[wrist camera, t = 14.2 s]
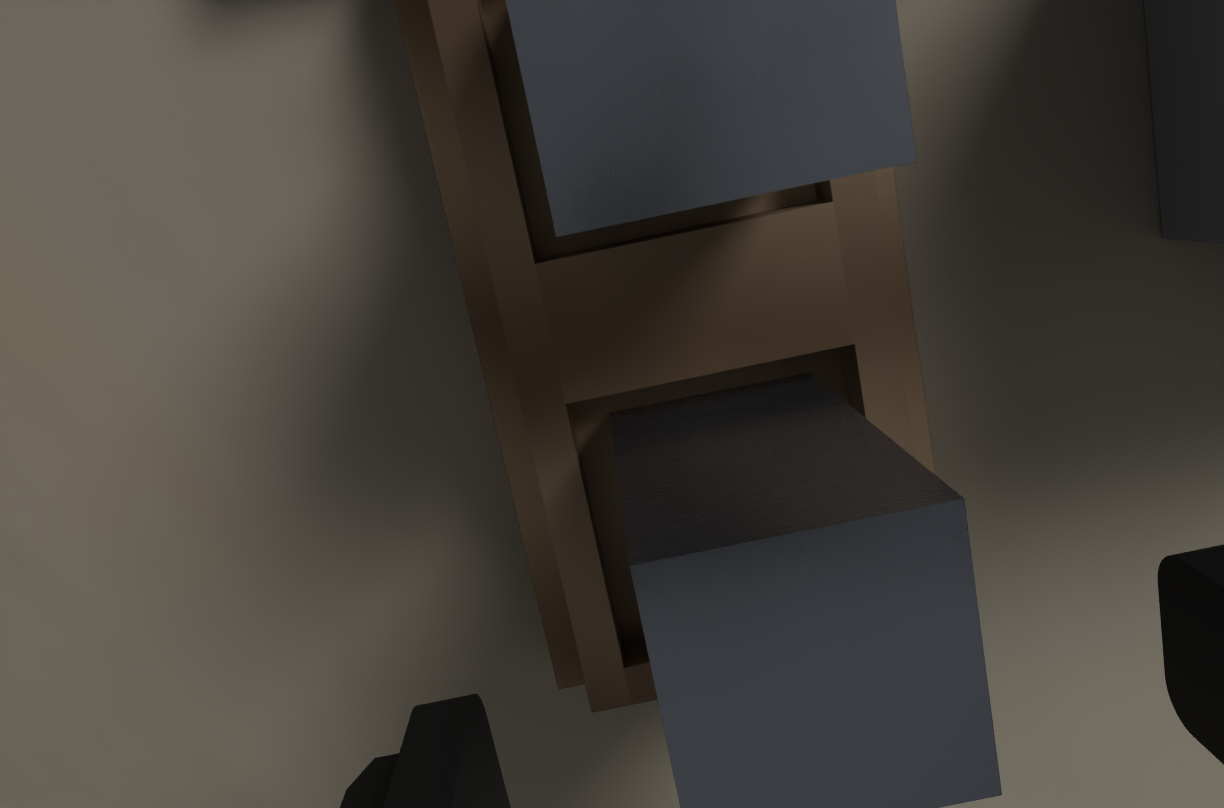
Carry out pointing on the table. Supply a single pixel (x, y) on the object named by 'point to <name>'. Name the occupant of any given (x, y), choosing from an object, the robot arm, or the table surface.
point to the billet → (803, 604)
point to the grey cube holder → (1188, 114)
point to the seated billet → (706, 100)
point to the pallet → (638, 324)
